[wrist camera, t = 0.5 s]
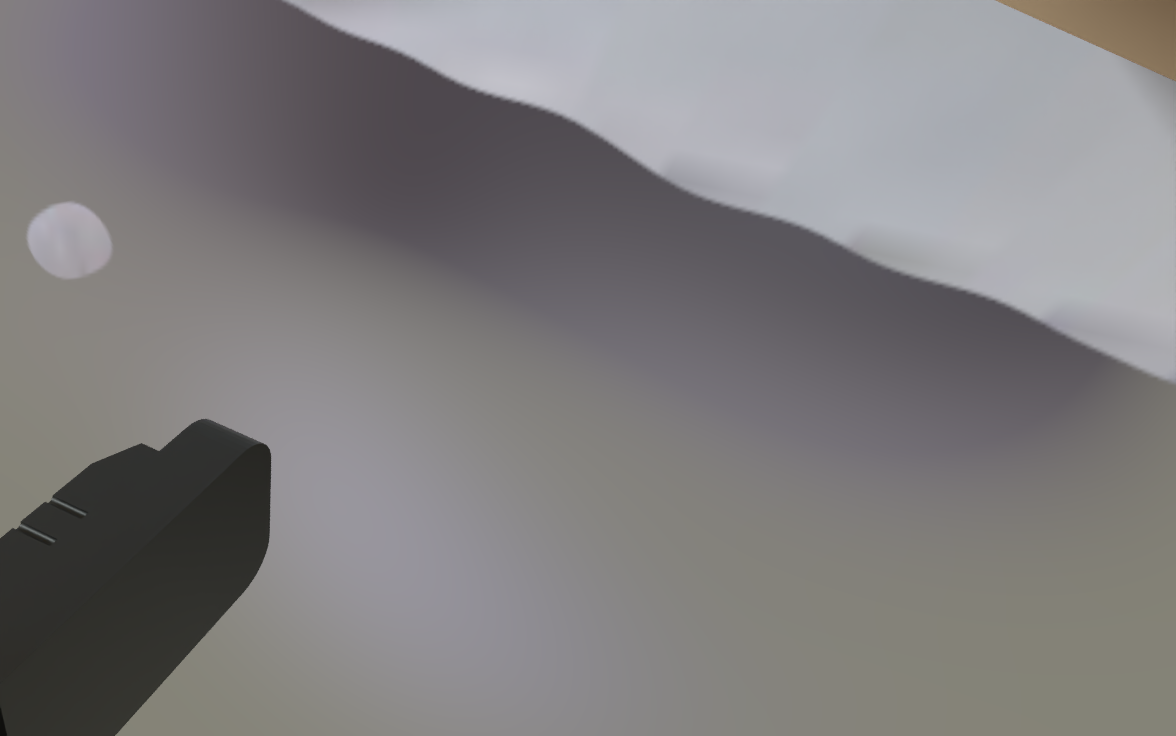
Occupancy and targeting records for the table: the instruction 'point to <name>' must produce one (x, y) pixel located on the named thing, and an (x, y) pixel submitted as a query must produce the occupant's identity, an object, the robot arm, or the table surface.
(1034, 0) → the slatted wooden stool
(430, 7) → the table surface
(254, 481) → the robot arm
